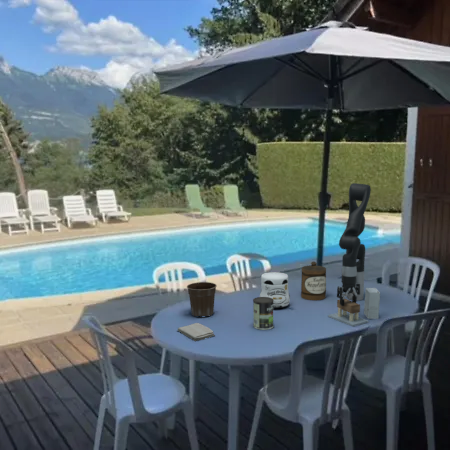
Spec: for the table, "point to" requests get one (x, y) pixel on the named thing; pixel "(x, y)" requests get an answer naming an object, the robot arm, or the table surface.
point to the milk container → (275, 288)
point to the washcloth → (196, 331)
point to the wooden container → (313, 282)
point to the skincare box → (372, 303)
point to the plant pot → (202, 298)
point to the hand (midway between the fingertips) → (348, 304)
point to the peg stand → (348, 318)
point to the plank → (349, 306)
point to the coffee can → (263, 313)
